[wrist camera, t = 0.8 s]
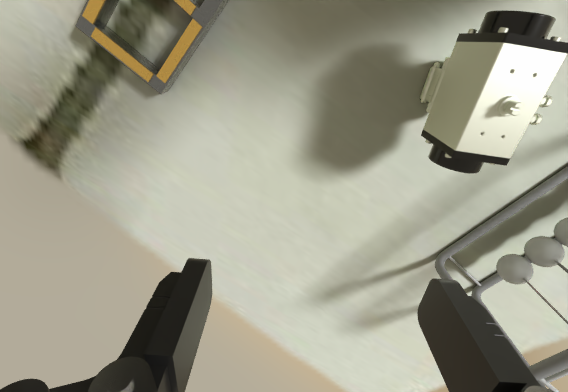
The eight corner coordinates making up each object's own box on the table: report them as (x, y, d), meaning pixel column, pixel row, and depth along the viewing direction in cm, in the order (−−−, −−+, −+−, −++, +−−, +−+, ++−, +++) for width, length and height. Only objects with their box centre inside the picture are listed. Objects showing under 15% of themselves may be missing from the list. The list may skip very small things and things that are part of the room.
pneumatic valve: (399, 135, 34) (451, 179, 23) (439, 17, 28) (531, 4, 18) (445, 142, 34) (517, 189, 23) (494, 26, 28) (617, 20, 18)
